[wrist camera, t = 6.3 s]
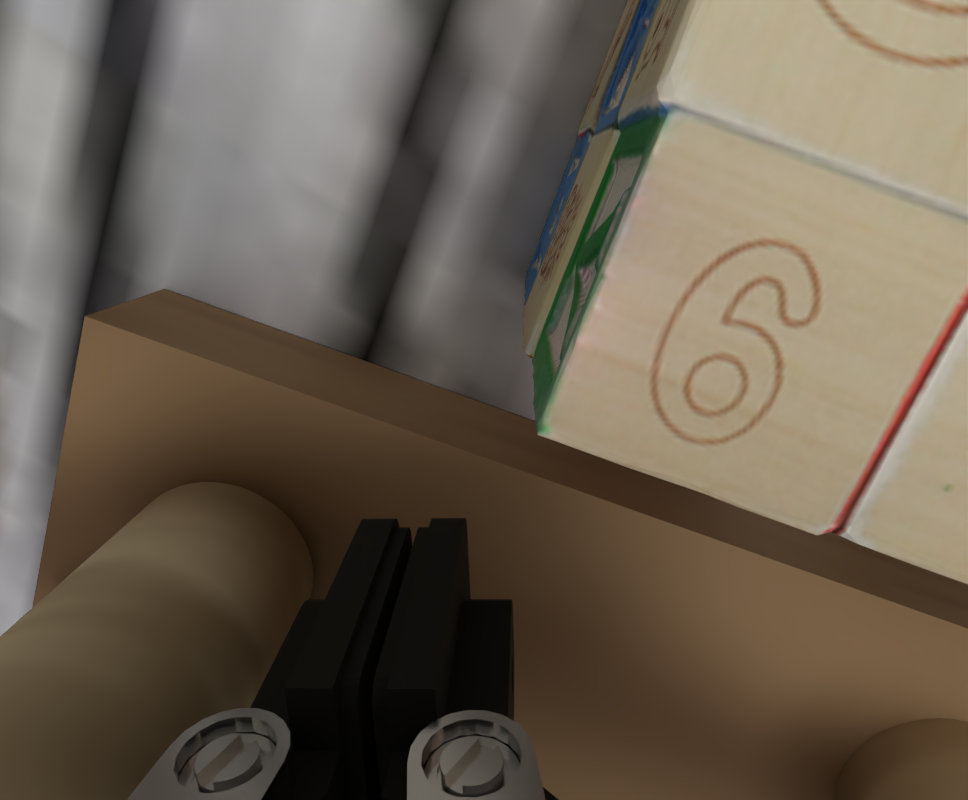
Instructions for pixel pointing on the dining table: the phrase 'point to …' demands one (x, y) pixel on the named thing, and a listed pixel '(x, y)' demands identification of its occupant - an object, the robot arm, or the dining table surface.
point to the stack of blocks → (771, 266)
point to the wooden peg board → (544, 565)
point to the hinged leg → (147, 642)
